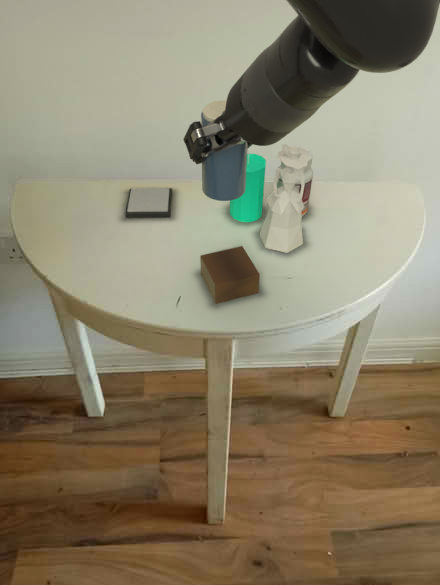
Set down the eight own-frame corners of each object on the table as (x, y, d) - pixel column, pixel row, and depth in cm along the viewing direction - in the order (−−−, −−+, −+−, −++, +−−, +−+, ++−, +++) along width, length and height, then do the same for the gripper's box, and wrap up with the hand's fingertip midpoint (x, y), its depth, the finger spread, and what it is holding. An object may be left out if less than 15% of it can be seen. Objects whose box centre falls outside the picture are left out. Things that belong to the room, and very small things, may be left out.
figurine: (269, 256, 83) (278, 159, 70) (255, 227, 89) (261, 132, 76) (309, 249, 84) (325, 153, 71) (293, 221, 90) (305, 127, 77)
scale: (125, 218, 90) (124, 211, 89) (130, 193, 96) (129, 186, 95) (170, 217, 90) (169, 211, 90) (172, 192, 96) (171, 186, 95)
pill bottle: (299, 198, 95) (306, 143, 87) (312, 216, 91) (322, 160, 83) (268, 203, 94) (273, 148, 86) (281, 222, 90) (287, 166, 82)
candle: (224, 217, 90) (225, 158, 82) (236, 200, 94) (238, 141, 86) (256, 225, 89) (260, 165, 80) (266, 207, 93) (271, 148, 84)
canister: (210, 204, 65) (210, 124, 57) (196, 181, 69) (194, 103, 61) (251, 196, 66) (256, 116, 59) (236, 174, 70) (239, 96, 62)
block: (215, 304, 75) (215, 285, 72) (200, 274, 80) (200, 255, 77) (258, 293, 77) (260, 274, 74) (241, 264, 82) (242, 245, 79)
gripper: (322, 45, 52) (254, 111, 68) (199, 70, 47) (156, 135, 62) (346, 114, 52) (273, 164, 68) (227, 147, 47) (177, 192, 63)
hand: (217, 150), depth 65 cm, fingers closed on canister, 6 cm apart
